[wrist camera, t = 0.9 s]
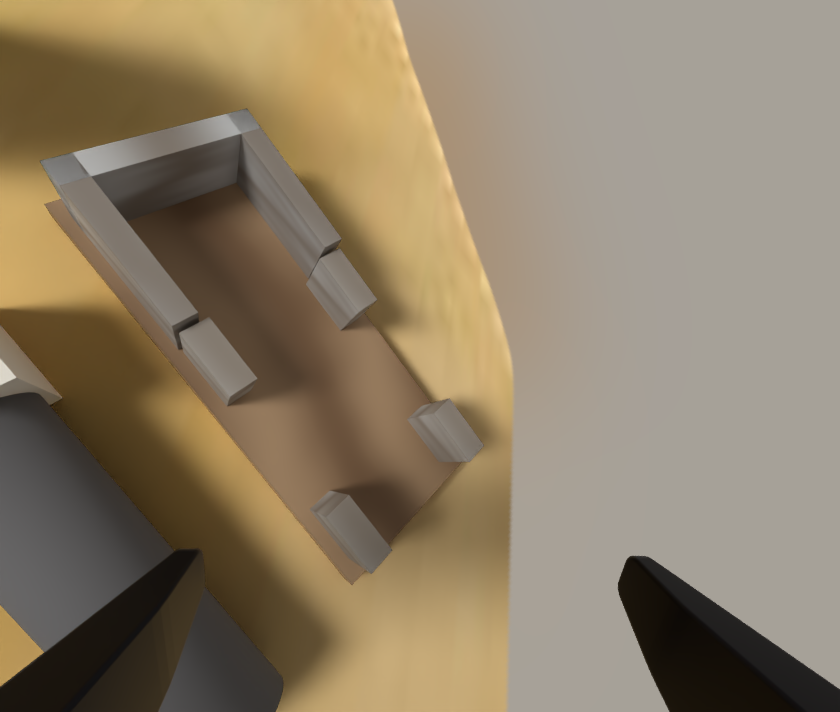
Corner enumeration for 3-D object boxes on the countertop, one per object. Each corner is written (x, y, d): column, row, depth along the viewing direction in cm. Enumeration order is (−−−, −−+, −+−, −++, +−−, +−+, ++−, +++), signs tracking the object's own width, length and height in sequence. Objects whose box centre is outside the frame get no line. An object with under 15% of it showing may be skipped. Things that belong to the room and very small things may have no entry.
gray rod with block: (279, 652, 17) (298, 705, 13) (180, 760, 15) (170, 861, 11) (-13, 309, 15) (-86, 258, 12) (-176, 372, 13) (-331, 336, 9)
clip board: (345, 579, 19) (380, 609, 15) (52, 217, 17) (6, 144, 13) (459, 454, 24) (508, 452, 20) (239, 157, 22) (245, 90, 18)
